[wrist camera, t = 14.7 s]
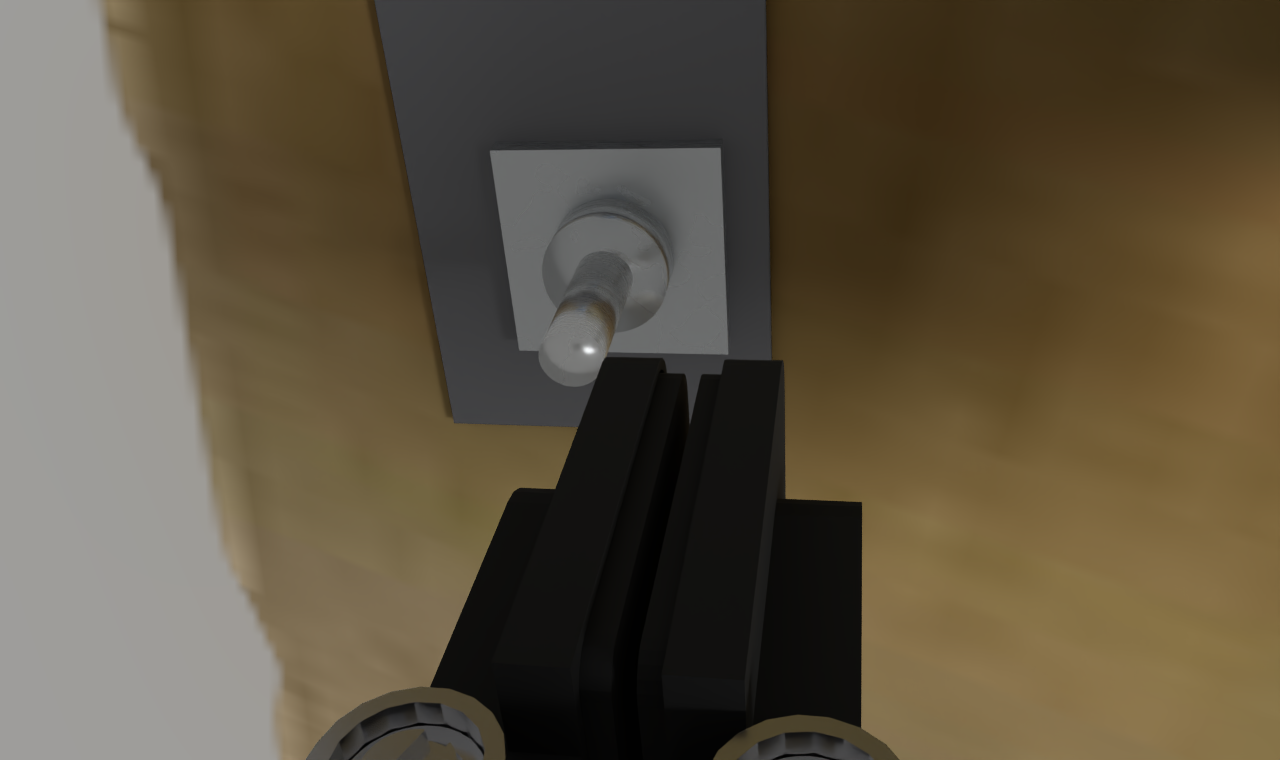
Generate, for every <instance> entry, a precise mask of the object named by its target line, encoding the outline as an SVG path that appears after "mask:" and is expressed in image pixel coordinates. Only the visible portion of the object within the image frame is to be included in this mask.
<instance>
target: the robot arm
mask: <svg viewBox="0 0 1280 760" xmlns="http://www.w3.org/2000/svg"><path fill="white" fill-rule="evenodd" d="M861 636H862V502H844V501H820V500H796V499H785V388H784V363H783V360H737V359H726V360H724V364H723V368H722V373H721V374H702V375H701V378H700V382H699V386H698V391H697V395H696V400H695V404H694V408H693V413H692V417H691V422H690V420H689V403H688V388H687V379H686V375H685V374H684V373H667V369H666V364H665V361H664V359H663V358H643V357H605V358H604V360H603V362H602V364H601V367H600V370H599V372H598V375H597V378H596V381H595V383H594V386H593V389H592V391H591V394H590V397H589V400H588V402H587V405H586V408H585V410H584V413H583V416H582V419H581V421H580V424H579V427H578V429H577V432H576V435H575V437H574V440H573V443H572V446H571V448H570V451H569V454H568V456H567V459H566V462H565V465H564V467H563V470H562V473H561V475H560V478H559V481H558V484H557V486H556V489H536V488H519V489H517V490H516V491H514V492H513V494H512V496H511V497H510V499H509V501H508V503H507V505H506V507H505V510H504V512H503V515H502V517H501V519H500V522H499V524H498V527H497V529H496V531H495V534H494V536H493V538H492V541H491V543H490V546H489V548H488V550H487V553H486V555H485V557H484V560H483V562H482V565H481V567H480V569H479V572H478V574H477V577H476V579H475V581H474V584H473V586H472V588H471V591H470V593H469V596H468V598H467V600H466V603H465V605H464V608H463V610H462V612H461V615H460V617H459V619H458V622H457V624H456V627H455V629H454V631H453V634H452V636H451V639H450V641H449V643H448V646H447V648H446V650H445V653H444V655H443V658H442V660H441V662H440V665H439V667H438V669H437V672H436V674H435V677H434V679H433V681H432V684H431V686H430V687H417V688H411V689H405V690H399V691H393V692H390V693H387V694H385V695H382V696H380V697H377V698H375V699H372V700H370V701H367V702H365V703H362V704H361V705H359V706H358V707H357V708H355V709H354V710H352V711H351V712H349V713H348V714H346V715H345V716H343V717H342V718H340V719H339V720H337V721H336V722H335V724H334V725H333V726H332V727H331V728H330V729H329V730H328V731H327V732H326V734H325V735H324V736H323V737H322V738H321V739H320V740H319V741H318V742H317V744H316V745H315V747H314V748H313V749H312V751H311V752H310V754H309V755H308V757H307V758H306V760H899V759H898V758H897V756H896V755H895V754H894V753H893V752H892V751H891V750H890V748H889V747H888V746H887V745H886V744H885V743H883V742H882V741H880V740H878V739H877V738H875V737H874V736H872V735H871V734H869V733H868V732H866V731H864V730H863V729H861Z"/></svg>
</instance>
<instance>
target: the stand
mask: <svg viewBox="0 0 1280 760" xmlns="http://www.w3.org/2000/svg"><path fill="white" fill-rule="evenodd" d="M490 156H491V163H492V169H493V176H494V183H495V190H496V196H497V203H498V210H499V217H500V223H501V230H502V237H503V244H504V251H505V257H506V264H507V271H508V278H509V284H510V291H511V298H512V305H513V311H514V318H515V325H516V332H517V338H518V345H519V350H520V351H539V354H538V355H539V362H540V365H541V367H542V369H543V370H544V372H545V373H546V374H547V375H548V376H549V377H550V378H551V379H552V380H554V381H556V382H557V383H560V384H562V385H565V386H571V387H579V386H584V385H587V384H589V383H591V382H592V381H594V380H595V379H596V378H597V375H598V372H599V370H600V367H601V364H602V362H603V360H604V358H605V357H606V356H607V353H608V352H622V353H674V354H725V355H728V354H729V349H730V344H731V343H730V317H729V290H728V263H727V236H726V209H725V183H724V156H723V139H715V140H640V141H564V142H496V143H495V144H494V146H493V147H492V148H491V150H490Z"/></svg>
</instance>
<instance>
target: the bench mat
mask: <svg viewBox="0 0 1280 760" xmlns="http://www.w3.org/2000/svg"><path fill="white" fill-rule="evenodd" d="M374 1H375V6H376V12H377V17H378V22H379V28H380V33H381V38H382V43H383V49H384V54H385V59H386V65H387V70H388V75H389V80H390V86H391V91H392V96H393V102H394V107H395V112H396V118H397V123H398V128H399V133H400V139H401V144H402V149H403V155H404V160H405V165H406V170H407V176H408V181H409V186H410V192H411V197H412V202H413V207H414V213H415V218H416V223H417V229H418V234H419V239H420V245H421V250H422V255H423V260H424V266H425V271H426V276H427V282H428V287H429V292H430V297H431V303H432V308H433V313H434V319H435V324H436V329H437V335H438V340H439V345H440V350H441V356H442V361H443V366H444V372H445V377H446V382H447V387H448V393H449V398H450V403H451V409H452V414H453V419H454V423H467V424H499V425H531V426H563V427H579V424H580V421H581V419H582V416H583V413H584V410H585V408H586V405H587V402H588V400H589V397H590V394H591V391H592V389H593V386H594V383H595V381H596V379H595V380H594V381H592V382H591V383H589V384H587V385H584V386H579V387H571V386H565V385H562V384H560V383H557V382H556V381H554V380H552V379H551V378H550V377H549V376H548V375H547V374H546V373H545V372H544V370H543V369H542V367H541V365H540V362H539V355H538V354H539V351H520V350H519V345H518V338H517V332H516V325H515V318H514V311H513V305H512V298H511V291H510V284H509V278H508V271H507V264H506V257H505V251H504V244H503V237H502V230H501V223H500V217H499V210H498V203H497V196H496V190H495V183H494V176H493V169H492V163H491V156H490V150H491V148H492V147H493V146H494V144H495V143H496V142H564V141H640V140H715V139H723V156H724V183H725V209H726V236H727V263H728V290H729V317H730V343H731V344H730V349H729V354H728V355H725V354H674V353H622V352H608V353H607V356H606V357H643V358H663V359H664V361H665V364H666V369H667V373H684V374H685V375H686V379H687V388H688V403H689V420H690V422H691V417H692V413H693V408H694V404H695V400H696V395H697V391H698V386H699V382H700V378H701V375H702V374H721V373H722V368H723V364H724V360H726V359H737V360H772V347H771V285H770V222H769V160H768V98H767V35H766V0H374Z"/></svg>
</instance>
